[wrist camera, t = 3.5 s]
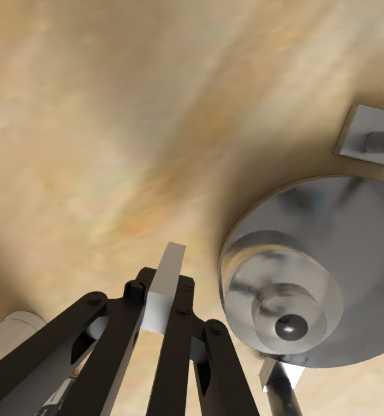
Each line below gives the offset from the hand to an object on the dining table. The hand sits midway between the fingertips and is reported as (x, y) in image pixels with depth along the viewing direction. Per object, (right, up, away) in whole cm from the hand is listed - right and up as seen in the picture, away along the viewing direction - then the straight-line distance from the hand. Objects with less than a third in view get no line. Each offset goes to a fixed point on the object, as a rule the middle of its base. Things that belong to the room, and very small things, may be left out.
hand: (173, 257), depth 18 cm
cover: (+8, -1, +1) cm, 9 cm away
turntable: (+14, -5, +4) cm, 15 cm away
